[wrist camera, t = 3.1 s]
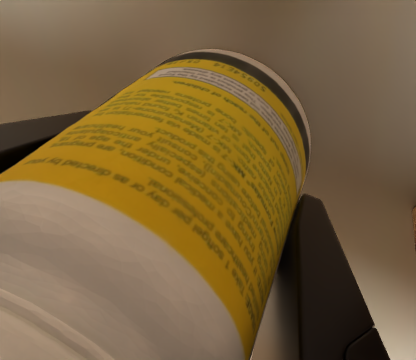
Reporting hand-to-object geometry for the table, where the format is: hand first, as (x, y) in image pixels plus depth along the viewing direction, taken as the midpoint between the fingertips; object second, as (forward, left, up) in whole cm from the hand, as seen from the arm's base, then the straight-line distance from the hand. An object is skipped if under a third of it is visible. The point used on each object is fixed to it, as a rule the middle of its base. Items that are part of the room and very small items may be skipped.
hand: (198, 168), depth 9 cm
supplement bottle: (0, 0, -2) cm, 2 cm away
